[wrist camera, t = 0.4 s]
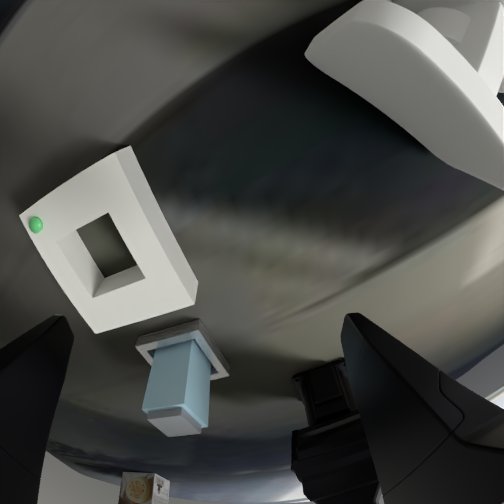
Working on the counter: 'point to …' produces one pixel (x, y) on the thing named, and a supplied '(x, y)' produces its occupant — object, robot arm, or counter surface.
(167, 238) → the port panel
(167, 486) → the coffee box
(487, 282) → the counter surface
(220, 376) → the gray square frame
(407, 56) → the cable organizer
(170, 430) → the plug
